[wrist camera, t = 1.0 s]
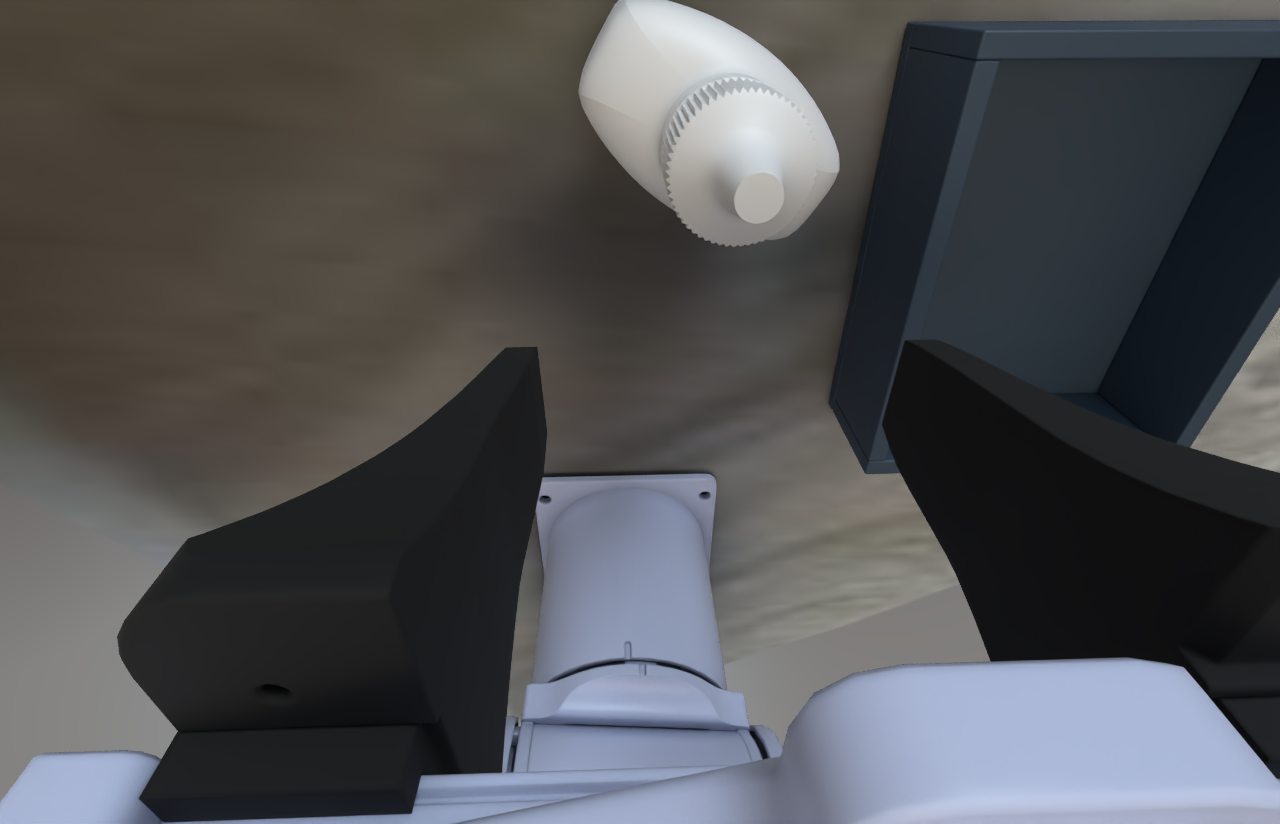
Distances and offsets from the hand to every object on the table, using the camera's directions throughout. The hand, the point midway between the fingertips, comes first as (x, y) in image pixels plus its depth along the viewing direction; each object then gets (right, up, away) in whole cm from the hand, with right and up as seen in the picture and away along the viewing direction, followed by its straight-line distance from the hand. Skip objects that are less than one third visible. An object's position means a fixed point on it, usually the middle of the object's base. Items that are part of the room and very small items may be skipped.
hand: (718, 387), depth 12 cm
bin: (+12, +5, +9) cm, 16 cm away
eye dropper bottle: (0, +9, +6) cm, 11 cm away
